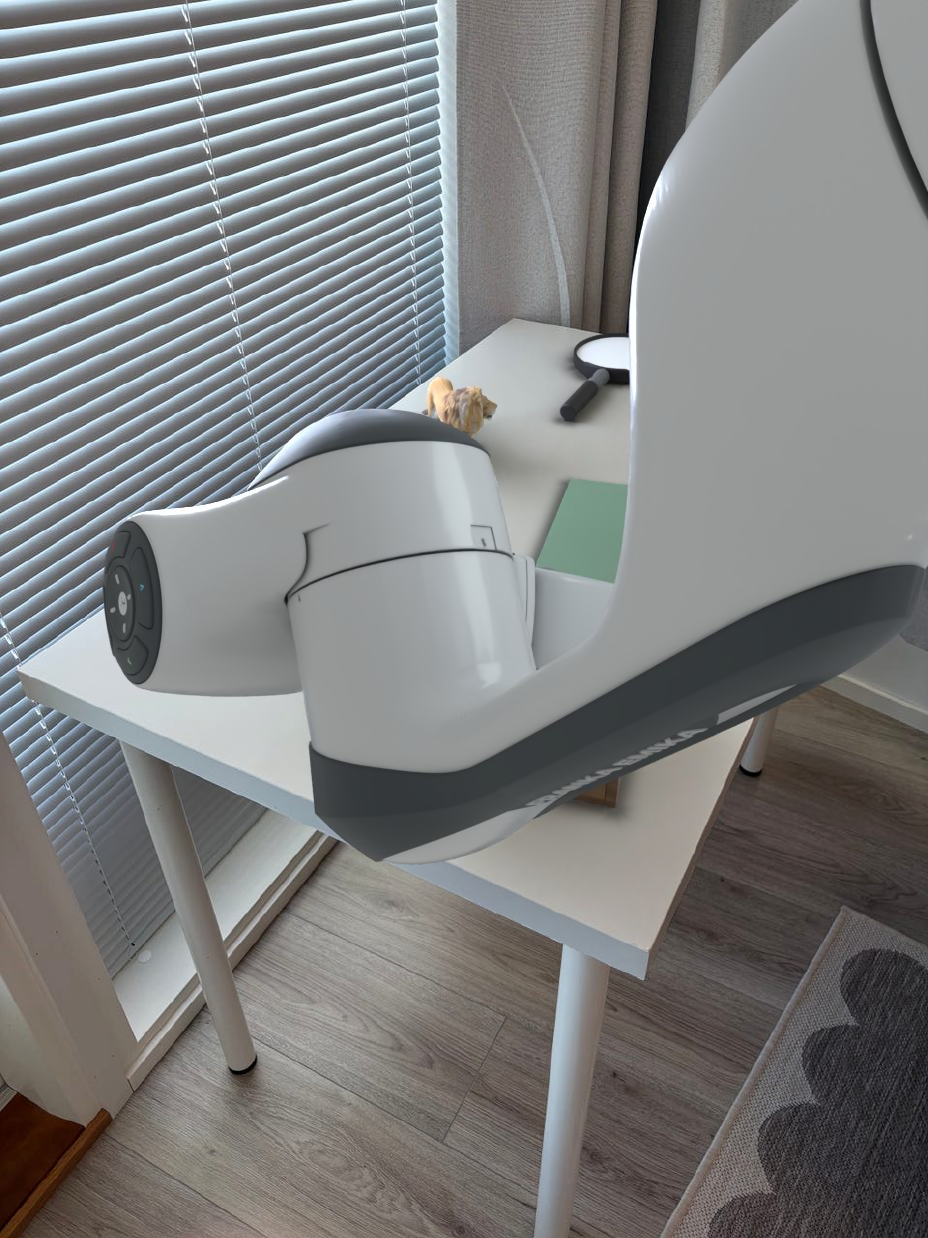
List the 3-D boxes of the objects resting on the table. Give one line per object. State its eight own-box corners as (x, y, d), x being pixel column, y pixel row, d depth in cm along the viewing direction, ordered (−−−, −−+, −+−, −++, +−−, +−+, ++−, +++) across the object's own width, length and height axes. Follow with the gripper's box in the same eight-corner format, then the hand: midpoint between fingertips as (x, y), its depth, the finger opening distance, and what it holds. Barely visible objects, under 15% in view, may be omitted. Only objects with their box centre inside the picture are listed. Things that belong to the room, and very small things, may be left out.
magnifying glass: (520, 410, 117) (520, 394, 116) (594, 339, 134) (595, 324, 132) (615, 431, 113) (616, 414, 111) (680, 354, 129) (681, 339, 127)
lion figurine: (503, 461, 108) (502, 388, 102) (462, 474, 106) (459, 400, 100) (440, 411, 118) (437, 342, 112) (402, 422, 116) (397, 352, 110)
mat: (739, 505, 99) (741, 498, 99) (725, 609, 86) (726, 602, 86) (570, 484, 104) (570, 477, 103) (531, 580, 90) (532, 573, 90)
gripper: (270, 639, 59) (424, 634, 69) (534, 689, 45) (675, 673, 56) (276, 537, 58) (430, 547, 69) (544, 557, 45) (685, 566, 55)
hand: (542, 604), depth 62 cm, fingers open, 8 cm apart
